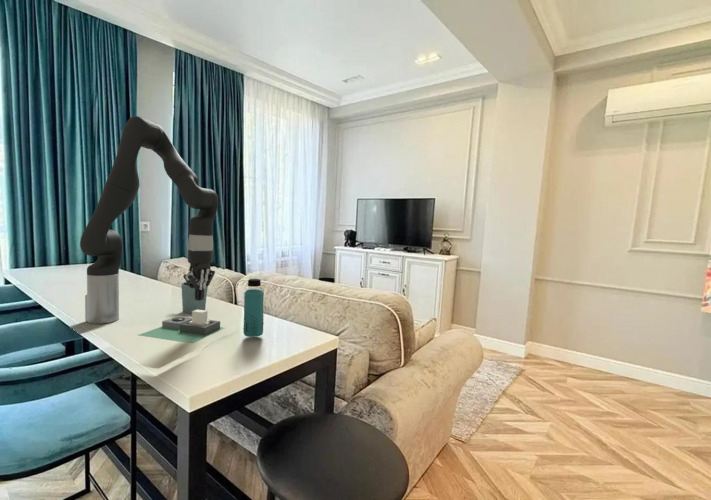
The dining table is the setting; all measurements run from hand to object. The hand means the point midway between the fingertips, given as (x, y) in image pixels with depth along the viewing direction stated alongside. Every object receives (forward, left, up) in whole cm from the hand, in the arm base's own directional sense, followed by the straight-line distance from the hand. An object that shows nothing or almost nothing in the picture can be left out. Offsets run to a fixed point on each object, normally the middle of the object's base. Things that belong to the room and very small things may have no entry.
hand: (199, 300), depth 112 cm
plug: (0, 0, -10) cm, 10 cm away
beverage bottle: (+19, +3, -12) cm, 22 cm away
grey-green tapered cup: (-20, +23, -12) cm, 33 cm away
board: (-3, -3, -12) cm, 13 cm away
